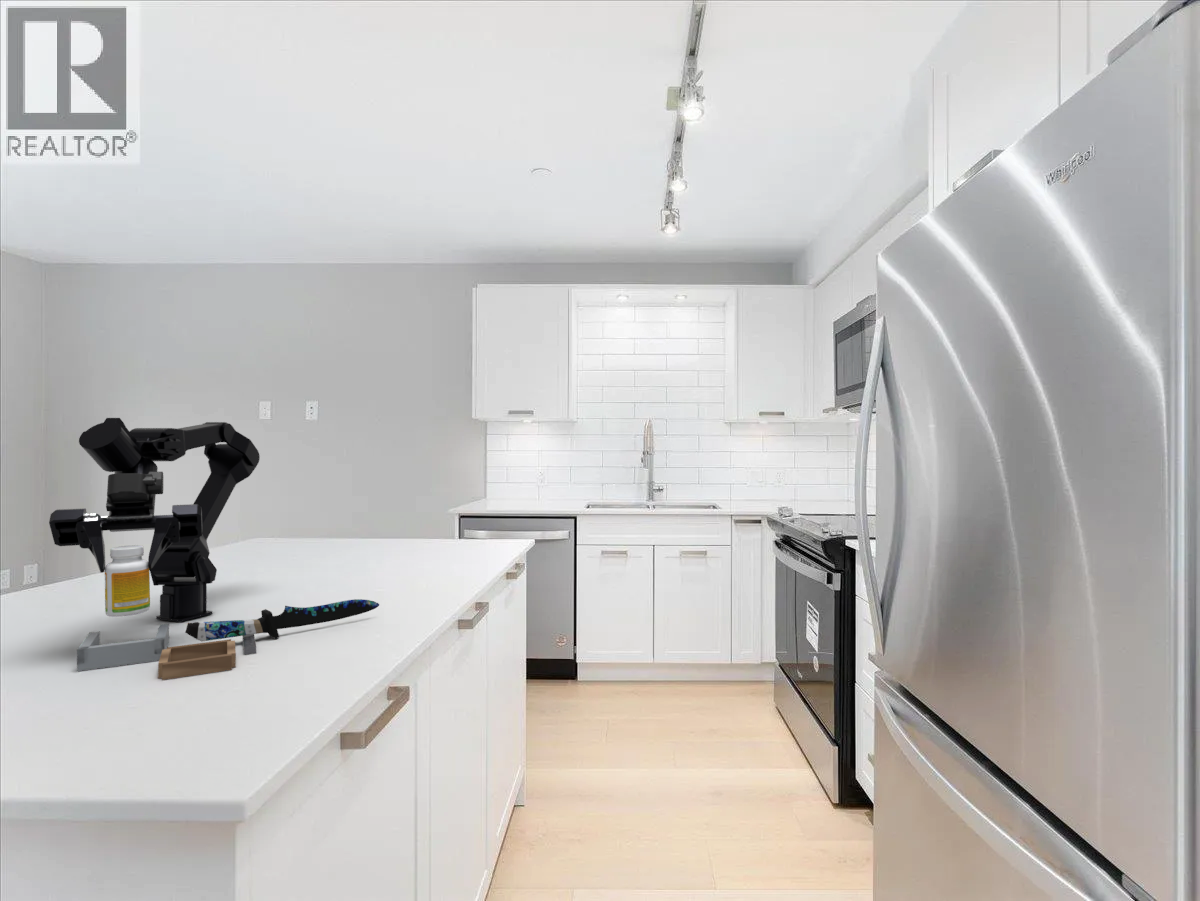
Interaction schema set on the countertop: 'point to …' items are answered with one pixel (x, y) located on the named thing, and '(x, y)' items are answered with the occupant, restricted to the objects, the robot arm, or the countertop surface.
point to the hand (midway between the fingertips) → (126, 568)
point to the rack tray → (120, 650)
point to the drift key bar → (249, 644)
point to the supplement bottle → (127, 582)
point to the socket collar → (197, 659)
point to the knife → (279, 620)
